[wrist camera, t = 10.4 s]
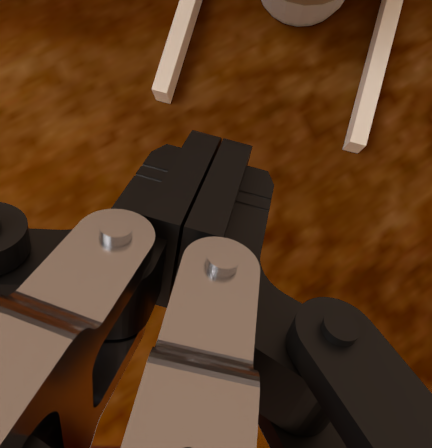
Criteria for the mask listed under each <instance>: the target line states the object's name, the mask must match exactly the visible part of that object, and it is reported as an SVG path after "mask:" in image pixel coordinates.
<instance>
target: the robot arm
mask: <svg viewBox="0 0 432 448" xmlns="http://www.w3.org/2000/svg"><path fill="white" fill-rule="evenodd" d="M221 141H222V143H221ZM251 150H252V146H250V145H247V144H243V143H239V142H236V141H232V140H228V139H223V140H222V138H220V137H216V136H213V135H209V134H205V133H202V132H198V131H194V130H192V131H191V133H190V135H189V136H188V138H187V140H186V141H185V143H184V145H183V146H182V148H180V147H176V146H172V145H168V144H166V145H164V146H162V147H160V148H158V149H156V150H154V151H152V152H151V153H150V154H149V156H148V157H147V159H146V160H145V162H144V163H143V166H141V167H140V169H139V170H138V171H137V173H136V176H134V177H133V178H132V180H131V181H130V183H129V184H128V185H127V187H126V188H125V190H124V191H123V192H122V194H121V195H120V197H119V198H118V200H117V201H116V202H115V204H114V205H113V207H112V208H111V209H105V210H100V211H97V212H94V213H92V214H89V215H88V216H86V217H85V218H83V219H82V220H81V221H80V222H79V223H78V224H77V225H76V227H75V228H74V229H71V230H50V229H28V223H27V218H26V216H25V214H24V213H23V212H22V211H21V210H19V209H18V208H16V207H14V206H12V205H10V204H7V203H2V202H0V448H90V446H91V443H92V441H93V437H94V434H95V430H96V427H97V424H98V422H99V419H100V417H101V415H102V413H103V411H104V409H105V407H106V405H107V403H108V401H109V399H110V397H111V396H112V394H113V392H114V390H115V388H116V386H117V384H118V382H119V381H120V379H121V377H122V375H123V373H124V371H125V369H126V367H127V365H128V364H129V362H130V360H131V358H132V356H133V354H134V352H135V350H136V349H137V347H138V345H139V343H140V341H141V339H142V337H143V335H144V332H145V325H146V323H147V322H148V320H149V317H150V315H151V313H152V310H153V308H154V306H155V304H156V305H159V306H163V307H166V308H167V310H166V313H165V317H164V320H163V323H162V327H161V330H160V333H159V337H158V340H157V343H156V346H155V347H153V348H152V350H151V352H150V355H149V357H148V360H147V363H146V367H145V370H144V373H143V376H142V380H141V383H140V386H139V389H138V393H137V396H136V399H135V402H134V406H133V409H132V412H131V416H130V419H129V422H128V425H127V429H126V432H125V435H124V438H123V442H122V445H121V448H256V447H257V431H258V425H259V427H260V429H261V431H262V433H263V435H264V437H265V438H266V440H267V442H268V444H269V446H270V448H432V393H431V392H430V391H429V390H428V389H427V387H426V386H425V385H424V384H423V383H422V382H421V380H420V379H419V378H418V377H417V376H416V374H415V373H414V372H413V371H412V370H411V368H410V367H409V366H408V365H407V364H406V363H405V361H404V360H403V359H402V358H401V357H400V355H399V354H398V353H397V352H396V351H395V349H394V348H393V347H392V346H391V345H390V344H389V342H388V341H387V340H386V339H385V338H384V336H383V335H382V334H381V333H380V332H379V330H378V329H377V328H376V327H375V326H374V325H373V323H372V322H371V321H370V320H369V319H368V318H367V317H366V316H365V315H364V314H363V313H362V312H361V311H360V310H358V309H357V308H355V307H354V306H352V305H350V304H348V303H346V302H344V301H341V300H339V299H335V298H329V297H318V298H313V299H310V300H308V301H306V302H305V303H303V304H301V303H300V302H298V301H296V300H294V299H293V298H291V297H289V296H288V295H286V294H284V293H283V292H281V291H280V290H278V289H277V288H276V287H275V286H274V285H273V284H272V283H271V282H270V281H269V280H268V279H267V277H266V276H265V274H264V272H263V270H262V267H261V264H260V254H261V249H262V244H263V239H264V234H265V229H266V224H267V218H268V212H269V208H270V203H271V198H272V193H273V188H274V184H273V182H272V179H271V177H270V175H269V173H268V171H265V170H261V169H257V168H254V167H250V166H247V165H248V161H249V158H250V154H251Z"/></svg>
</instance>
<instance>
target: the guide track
mask: <svg viewBox="0 0 432 448" xmlns="http://www.w3.org/2000/svg"><path fill="white" fill-rule="evenodd" d="M201 3H202V0H179V3H178V7H177V10H176V13H175V16H174V19H173V22H172V26H171V29H170V32H169V35H168V38H167V42H166V45H165V48H164V51H163V54H162V57H161V61H160V64H159V67H158V70H157V73H156V76H155V80H154V83H153V86H152V92H153V94H154V96H155V99H156V100H158V101H161V102H165V103H169V104H171V101H172V97H173V94H174V91H175V88H176V84H177V81H178V78H179V75H180V71H181V68H182V65H183V62H184V59H185V55H186V52H187V49H188V46H189V42H190V39H191V36H192V33H193V29H194V26H195V23H196V20H197V16H198V13H199V10H200V7H201ZM402 4H403V0H381V4H380V8H379V12H378V16H377V20H376V23H375V27H374V31H373V35H372V39H371V42H370V46H369V50H368V54H367V58H366V62H365V65H364V69H363V73H362V77H361V81H360V84H359V88H358V92H357V96H356V100H355V104H354V107H353V111H352V115H351V119H350V123H349V126H348V130H347V134H346V138H345V142H344V146H343V149H342V150H346V151H350V152H353V153H357V154H358V153H359V152H360V151H361V150H362V149H363V148H364V147H365V146H366V144H367V140H368V137H369V133H370V129H371V125H372V121H373V117H374V113H375V109H376V105H377V101H378V98H379V94H380V90H381V86H382V82H383V78H384V74H385V70H386V66H387V62H388V58H389V55H390V51H391V47H392V43H393V39H394V35H395V31H396V27H397V23H398V19H399V15H400V12H401V8H402Z"/></svg>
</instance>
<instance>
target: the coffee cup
mask: <svg viewBox="0 0 432 448" xmlns="http://www.w3.org/2000/svg"><path fill="white" fill-rule="evenodd" d="M261 1H262V3H263V6H264V7H265V9H266V10H267V11H268V12H269V13H270V14H271V16H272V17H274V18H276V19H277V20H279V21H281V22H282V23H284V24H288V25H292V26H297V27H299V26H312V25H314V24H317V23H320V22H323V21H324V20H326V19H327V18H328V17H329V16H331V15H332V14H333V13H334V12H335V11H336V10H338V9H339V8H340V7H341V5H342V4H343V2H344V1H345V0H261Z"/></svg>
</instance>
